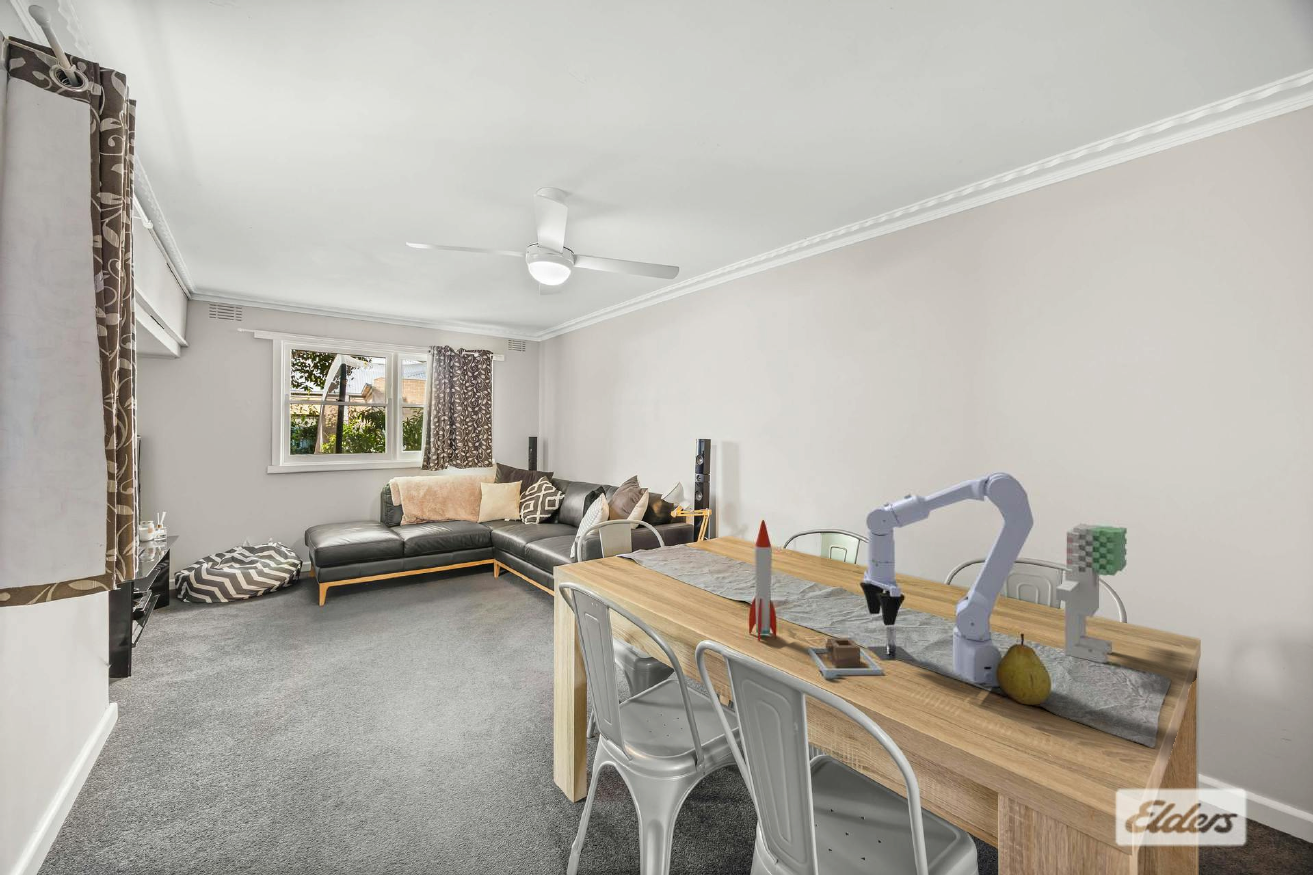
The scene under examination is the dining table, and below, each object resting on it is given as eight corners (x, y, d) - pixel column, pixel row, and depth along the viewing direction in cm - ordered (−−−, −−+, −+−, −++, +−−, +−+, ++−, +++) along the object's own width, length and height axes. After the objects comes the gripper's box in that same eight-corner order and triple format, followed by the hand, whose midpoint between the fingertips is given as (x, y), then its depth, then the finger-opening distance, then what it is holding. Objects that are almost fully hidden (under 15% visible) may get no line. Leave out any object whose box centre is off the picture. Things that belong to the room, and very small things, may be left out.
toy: (1114, 681, 115) (1115, 538, 115) (1055, 666, 122) (1056, 532, 122) (1130, 643, 136) (1131, 522, 136) (1079, 632, 143) (1080, 518, 143)
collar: (860, 670, 120) (860, 647, 120) (831, 670, 119) (831, 647, 119) (850, 659, 125) (850, 638, 125) (823, 660, 125) (823, 638, 125)
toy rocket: (758, 641, 137) (758, 522, 137) (748, 633, 143) (748, 518, 142) (778, 638, 139) (778, 521, 139) (767, 631, 144) (767, 517, 144)
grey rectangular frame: (882, 678, 116) (882, 669, 116) (825, 679, 116) (825, 669, 116) (859, 655, 128) (859, 647, 128) (808, 656, 128) (808, 647, 128)
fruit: (1032, 713, 102) (1032, 649, 102) (986, 692, 110) (986, 632, 110) (1062, 704, 105) (1062, 642, 105) (1015, 684, 113) (1015, 627, 113)
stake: (916, 664, 124) (916, 634, 124) (881, 664, 123) (881, 634, 123) (900, 650, 132) (900, 622, 132) (867, 650, 131) (867, 622, 131)
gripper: (851, 553, 133) (852, 609, 134) (878, 567, 119) (878, 630, 119) (880, 553, 134) (880, 608, 134) (909, 567, 119) (910, 629, 119)
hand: (881, 618), depth 126 cm, fingers open, 7 cm apart
